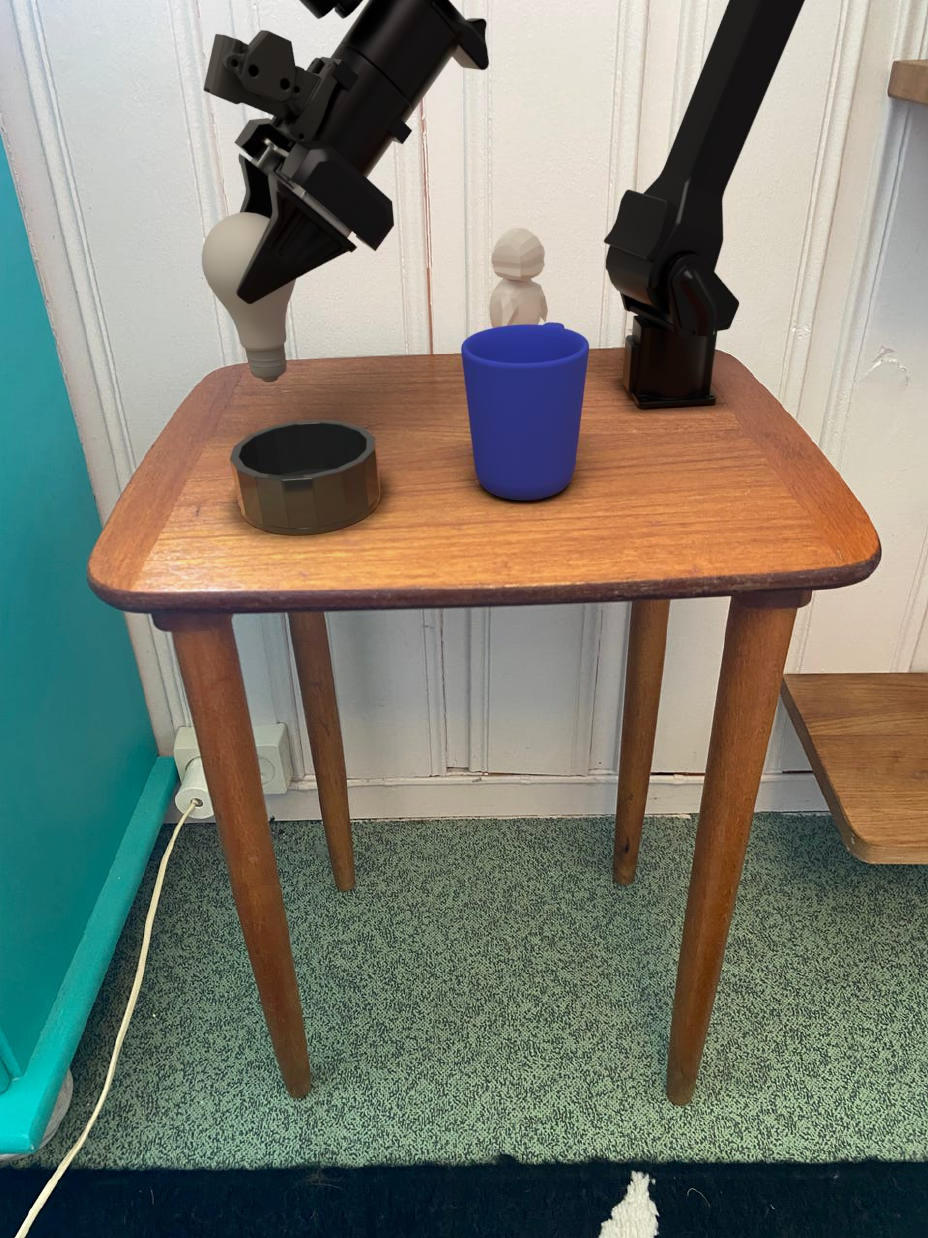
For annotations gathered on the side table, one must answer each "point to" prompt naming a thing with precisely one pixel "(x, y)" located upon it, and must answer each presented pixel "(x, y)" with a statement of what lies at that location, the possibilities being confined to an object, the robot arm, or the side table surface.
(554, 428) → the mug
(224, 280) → the lightbulb
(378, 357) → the side table surface
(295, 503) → the bowl
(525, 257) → the figurine
